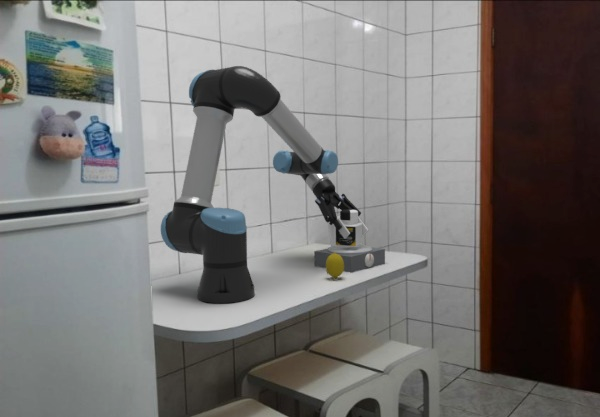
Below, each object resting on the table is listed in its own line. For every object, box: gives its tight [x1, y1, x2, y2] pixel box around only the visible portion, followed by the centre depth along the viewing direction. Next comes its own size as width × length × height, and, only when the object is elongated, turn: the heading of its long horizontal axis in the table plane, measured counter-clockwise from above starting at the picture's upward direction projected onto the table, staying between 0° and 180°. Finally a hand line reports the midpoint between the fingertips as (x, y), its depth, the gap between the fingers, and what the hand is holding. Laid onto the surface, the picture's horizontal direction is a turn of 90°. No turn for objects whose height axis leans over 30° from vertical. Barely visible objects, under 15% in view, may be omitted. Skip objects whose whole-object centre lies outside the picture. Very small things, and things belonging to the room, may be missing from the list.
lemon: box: [325, 253, 345, 280], centre depth 161 cm, size 6×6×8 cm
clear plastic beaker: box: [326, 215, 340, 247], centre depth 209 cm, size 10×9×13 cm
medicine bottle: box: [336, 209, 363, 247], centre depth 181 cm, size 7×7×12 cm
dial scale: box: [313, 244, 386, 273], centre depth 181 cm, size 18×17×6 cm
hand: (356, 234), depth 178 cm, fingers open, 9 cm apart
